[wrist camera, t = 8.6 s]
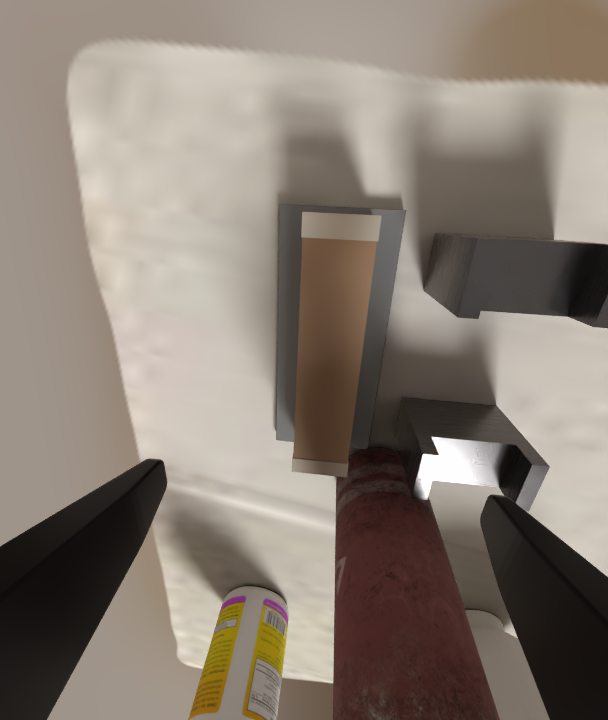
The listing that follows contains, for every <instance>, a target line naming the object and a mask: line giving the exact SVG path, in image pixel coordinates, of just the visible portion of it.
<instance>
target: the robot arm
mask: <svg viewBox="0 0 608 720" xmlns="http://www.w3.org/2000/svg"><path fill="white" fill-rule="evenodd" d="M166 487H167V477H166V472H165V466H164V462H163V461H162V460H159V459H146V460H144V461H143V462H141V463H139V464H138V465H136V466H134V467H133V468H131V469H129V470H128V471H126V472H124V473H123V474H121V475H119V476H118V477H116V478H114V479H112V480H111V481H109V482H107V483H106V484H104V485H102V486H101V487H99V488H97V489H96V490H94V491H92V492H91V493H89V494H87V495H86V496H84V497H82V498H81V499H79V500H77V501H76V502H74V503H72V504H71V505H69V506H67V507H65V508H64V509H62V510H61V511H59V512H57V513H55V514H54V515H52V516H50V517H49V518H47V519H45V520H44V521H42V522H40V523H39V524H37V525H35V526H34V527H32V528H30V529H28V530H27V531H25V532H24V533H22V534H20V535H18V536H17V537H15V538H13V539H12V540H10V541H8V542H7V543H5V544H3V545H2V546H0V720H47V718H48V717H49V715H50V713H51V711H52V709H53V707H54V706H55V704H56V702H57V700H58V698H59V696H60V694H61V693H62V691H63V689H64V687H65V685H66V684H67V681H68V680H69V678H70V676H71V674H72V673H73V671H74V669H75V667H76V665H77V663H78V661H79V660H80V658H81V656H82V654H83V652H84V650H85V648H86V647H87V645H88V643H89V641H90V640H91V638H92V636H93V634H94V632H95V630H96V629H97V627H98V625H99V623H100V621H101V619H102V618H103V616H104V614H105V612H106V610H107V608H108V606H109V605H110V603H111V601H112V599H113V597H114V595H115V594H116V592H117V590H118V588H119V586H120V584H121V582H122V581H123V579H124V577H125V575H126V573H127V572H128V570H129V568H130V566H131V564H132V562H133V561H134V559H135V557H136V555H137V553H138V551H139V549H140V548H141V546H142V544H143V542H144V539H145V537H146V535H147V533H148V530H149V528H150V526H151V523H152V521H153V519H154V516H155V514H156V512H157V509H158V507H159V505H160V502H161V500H162V498H163V495H164V493H165V490H166ZM480 523H481V528H482V531H483V535H484V538H485V542H486V545H487V549H488V552H489V556H490V559H491V563H492V567H493V570H494V574H495V577H496V580H497V584H498V587H499V590H500V592H501V595H502V598H503V600H504V603H505V606H506V608H507V611H508V613H509V616H510V619H511V621H512V624H513V626H514V629H515V631H516V634H517V637H518V639H519V642H520V644H521V647H522V650H523V652H524V655H525V657H526V660H527V662H528V665H529V668H530V670H531V673H532V675H533V678H534V680H535V683H536V686H537V688H538V691H539V693H540V696H541V699H542V701H543V704H544V706H545V709H546V711H547V714H548V717H549V719H550V720H608V577H607V576H606V575H604V574H603V573H602V572H601V571H599V570H598V569H597V568H596V567H594V566H593V565H592V564H591V563H590V562H588V561H587V560H586V559H585V558H583V557H582V556H581V555H580V554H578V553H577V552H576V551H575V550H573V549H572V548H571V547H570V546H568V545H567V544H566V543H565V542H563V541H562V540H561V539H560V538H558V537H557V536H556V535H555V534H553V533H552V532H551V531H550V530H548V529H547V528H546V527H545V526H544V525H542V524H541V523H540V522H539V521H537V520H536V519H535V518H534V517H532V516H531V515H530V514H529V513H527V512H526V511H525V510H524V509H522V508H521V507H520V506H519V505H517V504H516V503H515V502H514V501H512V500H511V499H510V498H508V497H506V496H501V495H490V496H489V497H488V498H487V501H486V503H485V506H484V508H483V511H482V514H481V517H480Z"/></svg>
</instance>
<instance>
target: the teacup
mask: <svg viewBox="0 0 608 720" xmlns="http://www.w3.org/2000/svg"><path fill="white" fill-rule="evenodd" d="M465 612H466V615H467V618H468V621H469V625H470V628H471V631H472V634H473V637H474V640H475V643H476V646H477V649H478V653H479V656H480V659H481V662H482V665H483V668H484V671H485V674H486V678H487V681H488V684H489V687H490V690H491V693H492V696H493V699H494V702H495V706H496V709H497V712H498V715H499V718H500V720H550V719H549V717H548V714H547V711H546V709H545V706H544V704H543V701H542V699H541V696H540V693H539V691H538V688H537V686H536V683H535V680H534V678H533V675H532V673H531V670H530V668H529V665H528V662H527V660H526V657H525V655H524V652H523V650H522V647H521V644H520V642H519V639H517V638H516V637H514V636H512V635H510V634H508V633H506V632H505V631H504V626H503V624H502V622H501V621H500V620H499V619H498V618H497V617H496V616H494V615H492V614H490V613H488V612H485V611H480V610H465Z"/></svg>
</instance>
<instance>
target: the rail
mask: <svg viewBox="0 0 608 720" xmlns="http://www.w3.org/2000/svg"><path fill="white" fill-rule="evenodd" d="M381 217H382V216H380V215H359V214H338V213H317V212H302V230H301V237H302V261H301V286H300V310H299V334H298V359H297V383H296V408H295V432H294V453H293V458H292V472H301V473H310V474H320V475H329V476H338V477H347V472H348V465H349V463H348V457H349V450H350V442H351V435H352V427H353V419H354V412H355V404H356V397H357V389H358V381H359V374H360V366H361V359H362V351H363V343H364V336H365V328H366V321H367V313H368V305H369V298H370V290H371V283H372V275H373V267H374V260H375V252H376V245H377V241H378V240H379V232H380V225H381Z"/></svg>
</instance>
